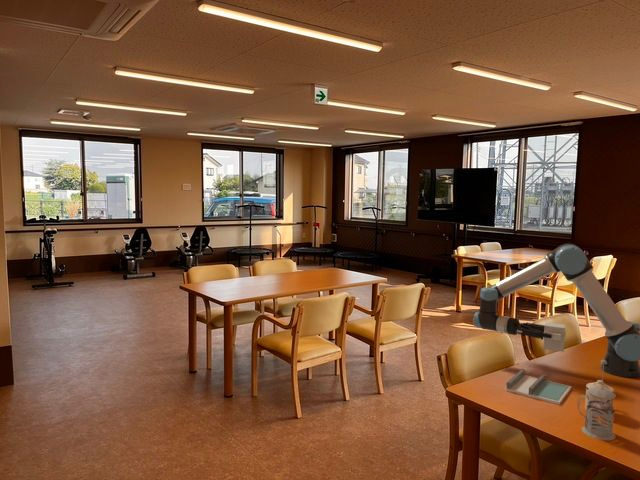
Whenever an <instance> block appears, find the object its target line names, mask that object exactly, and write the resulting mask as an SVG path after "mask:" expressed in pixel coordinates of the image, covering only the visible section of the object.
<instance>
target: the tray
mask: <svg viewBox="0 0 640 480" xmlns="http://www.w3.org/2000/svg"><path fill="white" fill-rule="evenodd" d="M546 376H547V374H545V373H542V374H541V375H540V376H539V377H538V378H537V377H534V376H530V375H526V369H525V368H522V369H520V370H519V371H518V372H517V373H516V374H515V375H514V376H513V377H511V378H510V379H509V380H508V381H507V382H506V392H510V393H513V394H517V395H521V396H525V397H528V398H532V399H536V400H538V401H543V402H547V403H549V404H550V403H551V404H555V405H561V404H562V401H564V399H565V397H567V395H568V394H569V393H570V391H571V390H572V386H570V385H568V384H563V383H559V382H555V381H551V380H546V379H547V377H546Z"/></svg>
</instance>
